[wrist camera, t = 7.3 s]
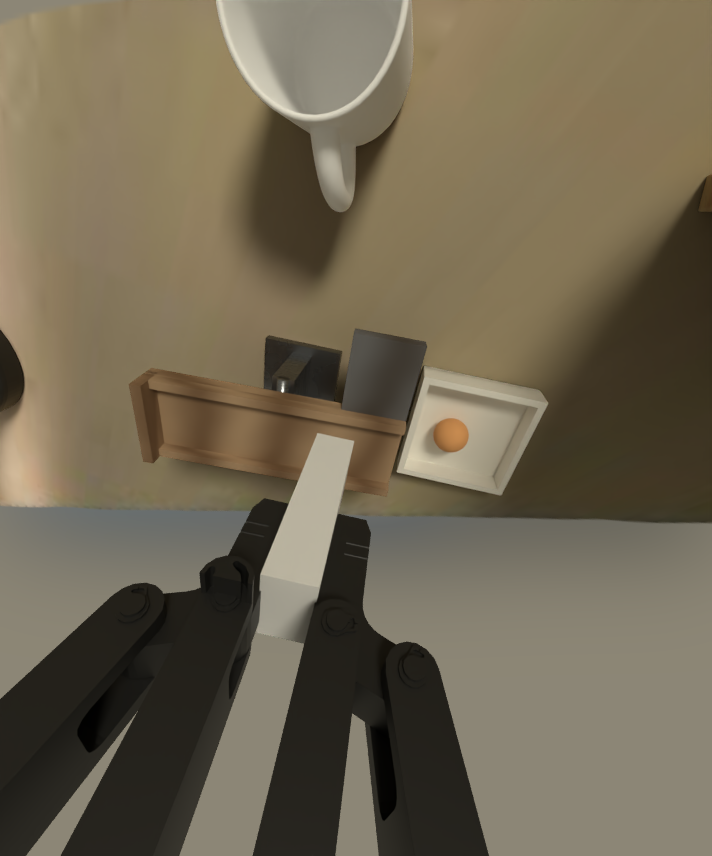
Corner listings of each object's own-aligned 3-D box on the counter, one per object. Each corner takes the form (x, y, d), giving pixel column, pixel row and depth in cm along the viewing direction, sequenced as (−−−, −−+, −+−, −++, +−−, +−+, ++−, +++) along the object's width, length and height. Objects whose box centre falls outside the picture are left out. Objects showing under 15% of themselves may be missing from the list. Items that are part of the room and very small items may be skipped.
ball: (442, 461, 33) (469, 457, 34) (452, 432, 31) (480, 428, 33) (423, 441, 35) (449, 437, 37) (432, 413, 34) (458, 410, 35)
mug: (406, 210, 27) (400, 213, 19) (298, 211, 28) (245, 214, 20) (418, -32, 21) (418, -198, 12) (280, -19, 22) (190, -163, 13)
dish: (397, 457, 39) (396, 472, 37) (424, 365, 33) (424, 376, 31) (496, 479, 39) (501, 495, 36) (539, 390, 33) (548, 403, 31)
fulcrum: (265, 425, 39) (238, 463, 33) (268, 335, 34) (237, 362, 28) (328, 439, 39) (312, 480, 33) (342, 351, 34) (326, 381, 28)
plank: (162, 441, 32) (143, 461, 30) (139, 287, 25) (112, 297, 23) (386, 481, 32) (386, 505, 30) (425, 341, 25) (429, 356, 23)
